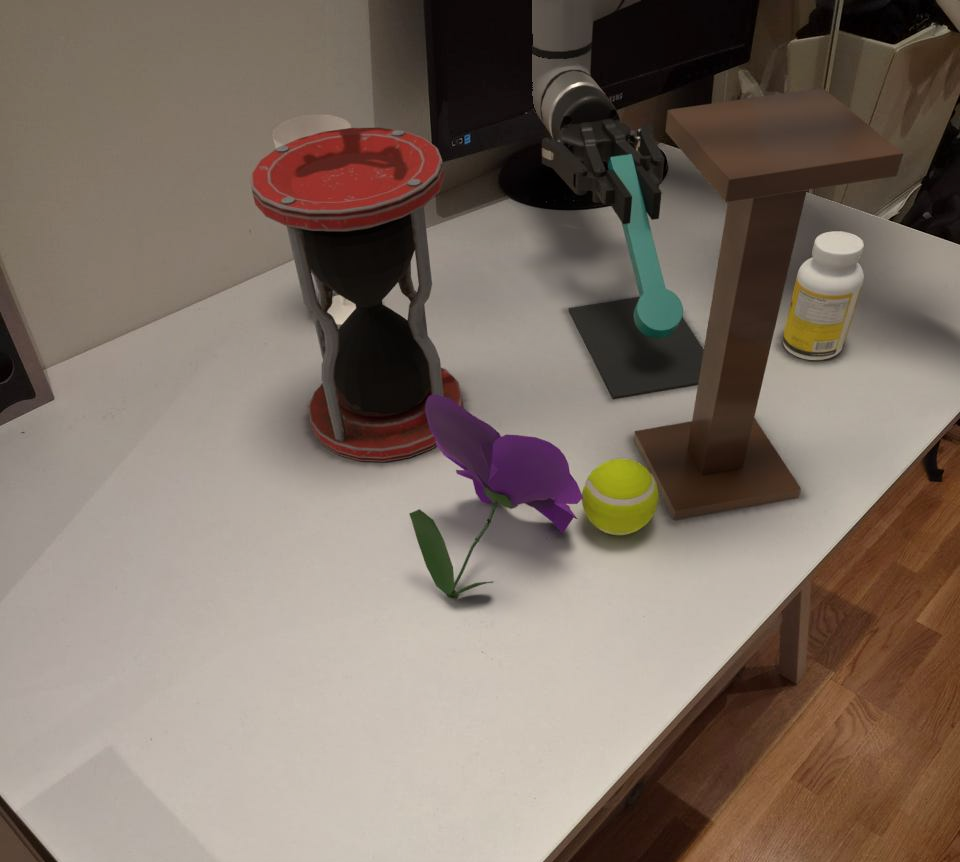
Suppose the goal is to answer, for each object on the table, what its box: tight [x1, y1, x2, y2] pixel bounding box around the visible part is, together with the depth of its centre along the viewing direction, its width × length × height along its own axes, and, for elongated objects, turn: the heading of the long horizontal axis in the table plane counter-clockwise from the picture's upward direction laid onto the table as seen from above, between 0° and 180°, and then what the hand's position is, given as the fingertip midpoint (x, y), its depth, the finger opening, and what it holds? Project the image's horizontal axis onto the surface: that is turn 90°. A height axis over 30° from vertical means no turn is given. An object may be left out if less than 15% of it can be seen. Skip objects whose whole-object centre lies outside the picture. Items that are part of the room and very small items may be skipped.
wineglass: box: [272, 114, 356, 325], centre depth 97 cm, size 8×9×20 cm
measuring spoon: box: [607, 154, 684, 338], centre depth 91 cm, size 20×5×2 cm, turn 12°
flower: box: [409, 394, 583, 599], centre depth 73 cm, size 15×15×14 cm
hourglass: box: [249, 127, 464, 463], centre depth 82 cm, size 16×16×25 cm
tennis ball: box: [581, 458, 659, 536], centre depth 76 cm, size 7×7×7 cm
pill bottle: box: [782, 230, 865, 361], centre depth 90 cm, size 6×6×12 cm
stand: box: [633, 87, 904, 521], centre depth 72 cm, size 12×12×30 cm
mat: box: [568, 296, 704, 400], centre depth 97 cm, size 18×12×1 cm, turn 11°
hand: (642, 208), depth 89 cm, fingers closed on measuring spoon, 2 cm apart
